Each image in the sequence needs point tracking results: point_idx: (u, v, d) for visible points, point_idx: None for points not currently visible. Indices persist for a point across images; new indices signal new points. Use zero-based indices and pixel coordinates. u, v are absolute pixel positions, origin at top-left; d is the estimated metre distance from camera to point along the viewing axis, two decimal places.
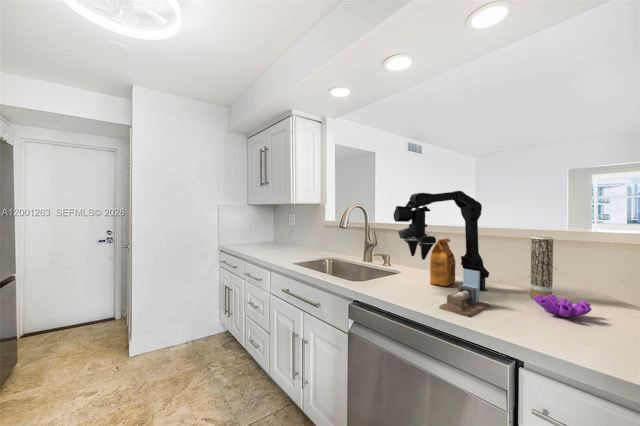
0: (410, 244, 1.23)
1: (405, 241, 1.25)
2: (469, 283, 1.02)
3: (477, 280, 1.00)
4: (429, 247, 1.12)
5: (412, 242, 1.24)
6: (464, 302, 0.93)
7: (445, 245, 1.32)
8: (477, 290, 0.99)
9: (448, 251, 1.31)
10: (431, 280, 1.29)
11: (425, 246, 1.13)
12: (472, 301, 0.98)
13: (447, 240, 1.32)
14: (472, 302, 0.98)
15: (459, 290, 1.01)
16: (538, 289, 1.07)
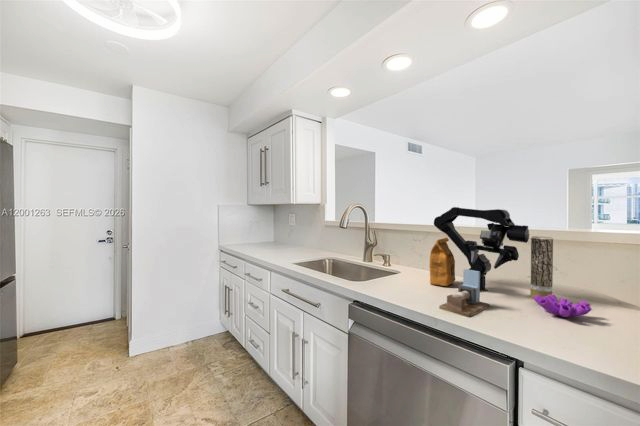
0: (474, 252, 1.14)
1: (470, 247, 1.15)
2: (469, 283, 1.02)
3: (477, 280, 1.00)
4: (505, 261, 1.07)
5: (476, 251, 1.15)
6: (464, 302, 0.93)
7: (444, 244, 1.32)
8: (477, 290, 0.99)
9: (447, 251, 1.30)
10: (431, 281, 1.29)
11: (503, 257, 1.07)
12: (472, 301, 0.98)
13: (446, 239, 1.32)
14: (472, 302, 0.98)
15: (459, 290, 1.01)
16: (538, 289, 1.07)
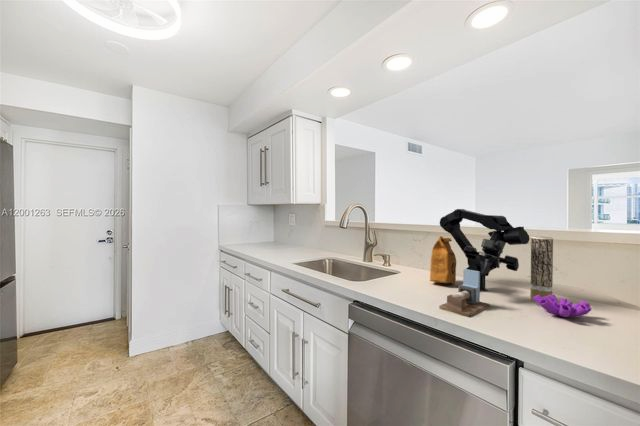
0: (485, 262, 1.08)
1: (480, 256, 1.09)
2: (469, 283, 1.02)
3: (477, 280, 1.00)
4: (493, 267, 1.08)
5: (486, 261, 1.09)
6: (464, 302, 0.93)
7: (447, 244, 1.34)
8: (477, 290, 0.99)
9: (449, 250, 1.32)
10: (431, 277, 1.30)
11: None
12: (472, 301, 0.98)
13: (449, 239, 1.35)
14: (472, 302, 0.98)
15: (459, 290, 1.01)
16: (538, 289, 1.07)
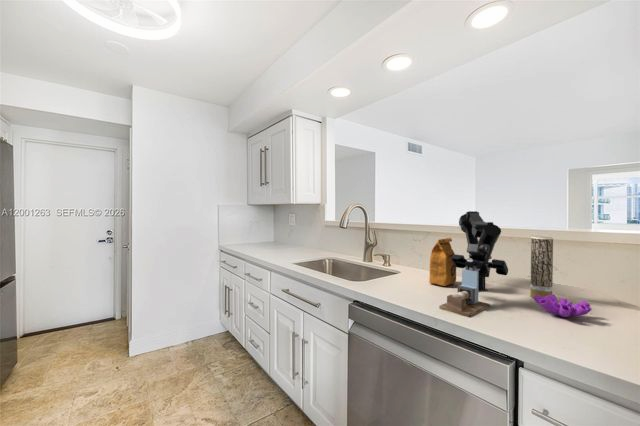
0: (473, 268, 1.04)
1: (468, 263, 1.05)
2: (468, 283, 1.01)
3: (476, 280, 0.99)
4: (482, 274, 1.03)
5: (474, 268, 1.05)
6: (464, 302, 0.93)
7: (446, 245, 1.31)
8: (476, 291, 0.98)
9: (449, 251, 1.29)
10: (430, 279, 1.30)
11: (480, 270, 1.03)
12: (471, 301, 0.97)
13: (449, 240, 1.31)
14: (471, 302, 0.97)
15: (458, 290, 1.01)
16: (538, 289, 1.07)
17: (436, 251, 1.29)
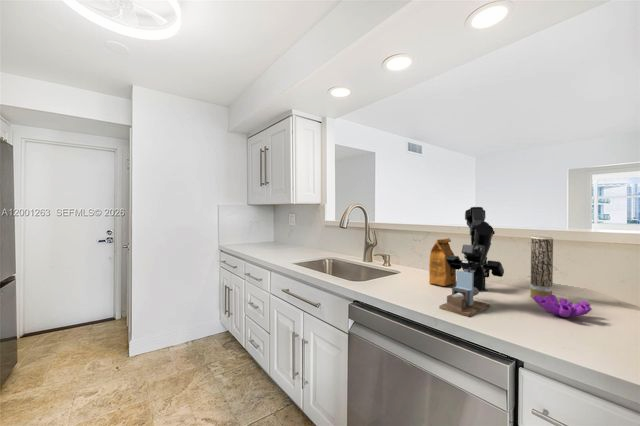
0: (468, 270, 1.02)
1: (463, 264, 1.03)
2: (462, 285, 0.99)
3: (471, 282, 0.97)
4: (477, 275, 1.01)
5: (469, 269, 1.03)
6: (464, 302, 0.93)
7: (445, 245, 1.32)
8: (470, 293, 0.96)
9: (448, 251, 1.30)
10: (430, 280, 1.30)
11: (475, 272, 1.01)
12: (466, 304, 0.95)
13: (448, 240, 1.32)
14: (466, 305, 0.95)
15: (453, 292, 0.98)
16: (538, 289, 1.07)
17: (435, 251, 1.30)
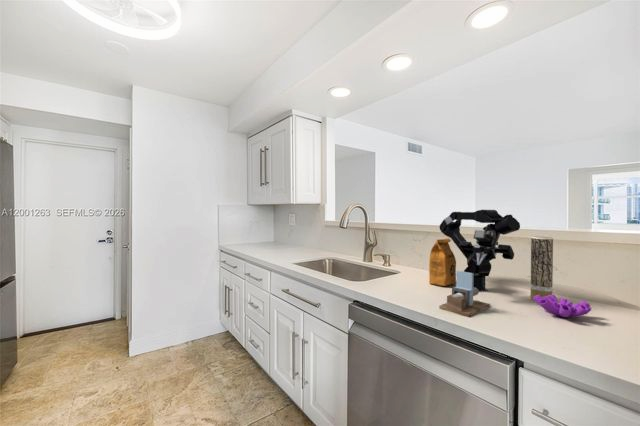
0: (480, 254, 1.09)
1: (475, 248, 1.10)
2: (462, 285, 0.99)
3: (470, 282, 0.97)
4: (489, 259, 1.08)
5: (481, 253, 1.10)
6: (464, 302, 0.93)
7: (445, 245, 1.32)
8: (470, 293, 0.96)
9: (448, 251, 1.30)
10: (430, 280, 1.30)
11: (486, 255, 1.08)
12: (466, 304, 0.94)
13: (447, 240, 1.32)
14: (466, 305, 0.94)
15: (453, 292, 0.98)
16: (538, 289, 1.07)
17: (435, 251, 1.30)
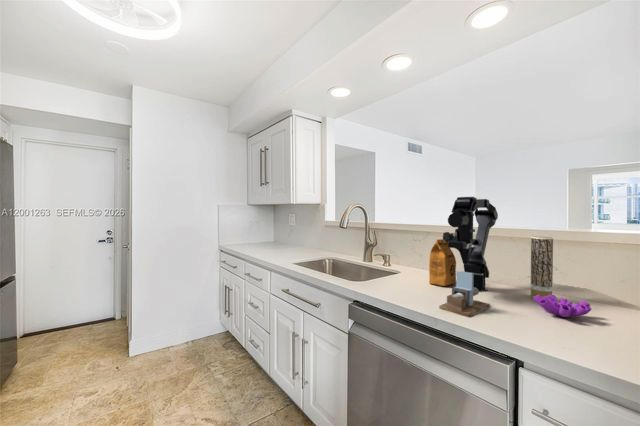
0: None
1: None
2: (462, 285, 0.99)
3: (470, 282, 0.97)
4: (467, 252, 1.11)
5: None
6: (464, 302, 0.93)
7: (445, 245, 1.32)
8: (470, 293, 0.96)
9: (448, 251, 1.30)
10: (430, 280, 1.30)
11: (464, 250, 1.13)
12: (466, 304, 0.94)
13: None
14: (466, 305, 0.94)
15: (453, 292, 0.98)
16: (538, 289, 1.07)
17: (435, 251, 1.30)
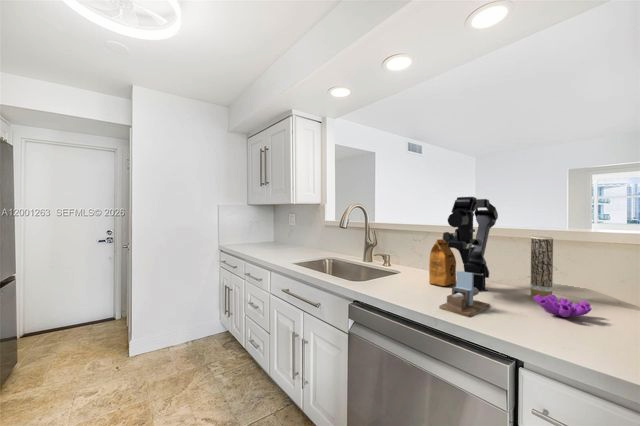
0: None
1: None
2: (462, 285, 0.99)
3: (470, 282, 0.97)
4: (467, 252, 1.12)
5: None
6: (464, 302, 0.93)
7: (445, 245, 1.32)
8: (470, 293, 0.96)
9: (448, 251, 1.30)
10: (430, 280, 1.30)
11: (464, 250, 1.13)
12: (466, 304, 0.94)
13: None
14: (466, 305, 0.94)
15: (453, 292, 0.98)
16: (538, 289, 1.07)
17: (435, 251, 1.30)
